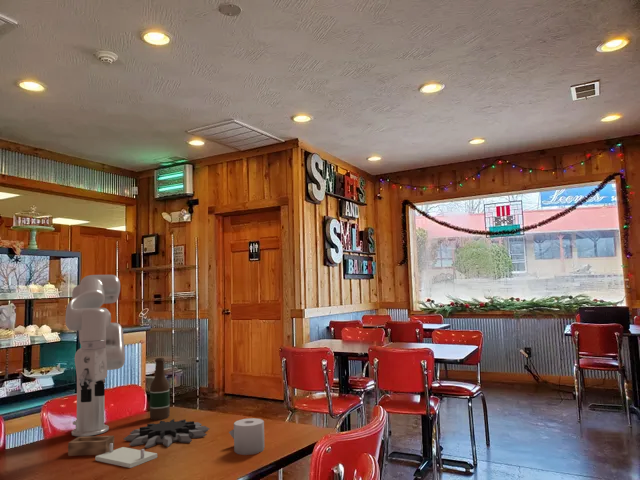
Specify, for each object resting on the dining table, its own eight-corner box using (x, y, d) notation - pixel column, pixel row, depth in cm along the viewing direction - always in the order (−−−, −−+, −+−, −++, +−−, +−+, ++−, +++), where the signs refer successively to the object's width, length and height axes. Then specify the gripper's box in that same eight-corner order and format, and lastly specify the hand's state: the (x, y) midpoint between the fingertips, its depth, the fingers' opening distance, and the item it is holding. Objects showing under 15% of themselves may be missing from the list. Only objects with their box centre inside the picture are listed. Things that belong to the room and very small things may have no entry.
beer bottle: (173, 415, 206) (173, 357, 208) (161, 420, 199) (161, 359, 201) (158, 414, 208) (157, 356, 211) (145, 419, 201) (145, 359, 204)
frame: (68, 455, 158) (68, 442, 158) (78, 449, 165) (78, 436, 165) (105, 454, 158) (105, 441, 158) (114, 447, 165) (114, 435, 165)
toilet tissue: (236, 443, 165) (235, 416, 166) (269, 447, 159) (269, 419, 160) (218, 451, 157) (218, 423, 158) (253, 456, 151) (253, 427, 152)
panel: (95, 460, 153) (95, 447, 153) (122, 450, 161) (123, 439, 162) (130, 468, 145) (130, 454, 145) (157, 457, 153) (157, 445, 154)
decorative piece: (151, 414, 194) (223, 415, 188) (151, 425, 194) (224, 426, 188) (103, 437, 165) (187, 439, 159) (103, 449, 164) (187, 452, 158)
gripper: (93, 348, 156) (92, 404, 154) (115, 343, 174) (115, 393, 172) (69, 349, 156) (68, 405, 154) (93, 344, 174) (93, 394, 172)
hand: (93, 398), depth 163 cm, fingers open, 9 cm apart
